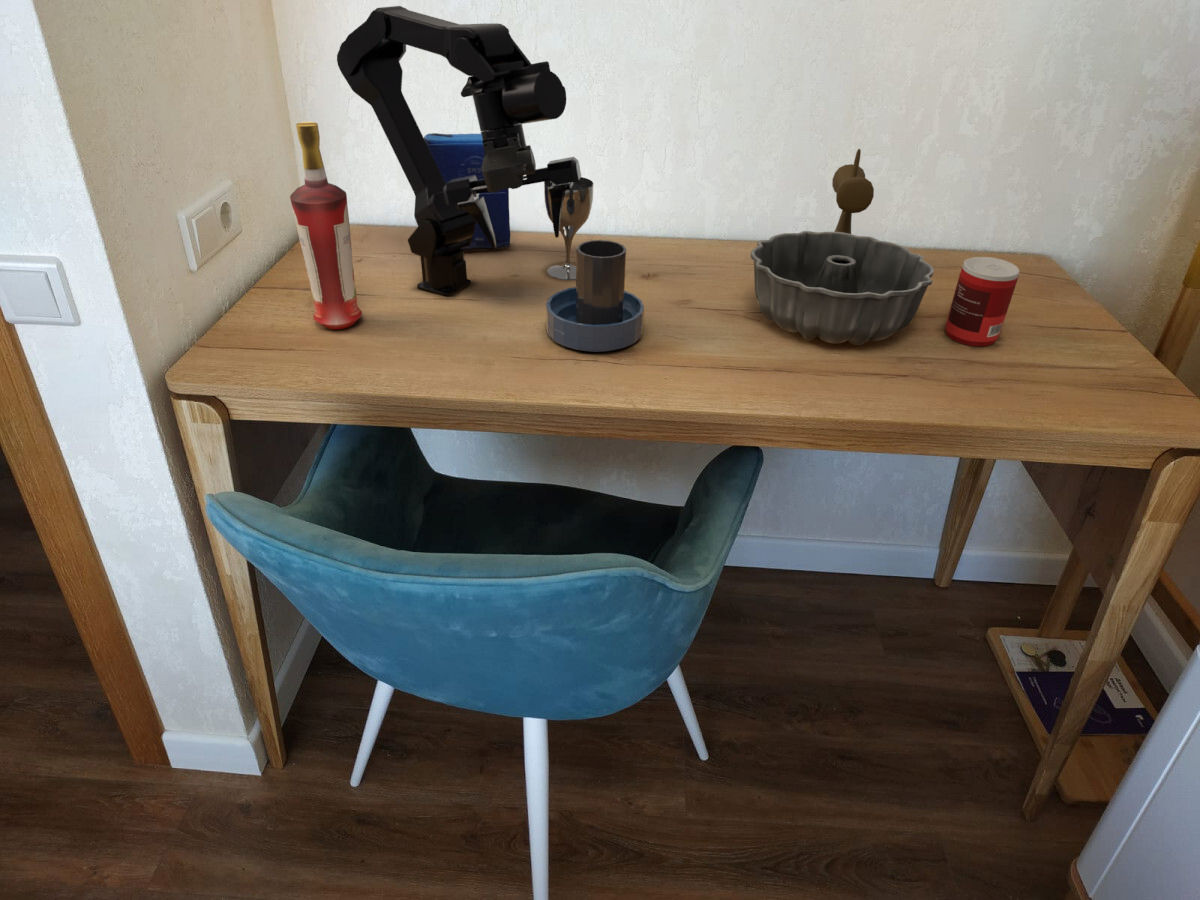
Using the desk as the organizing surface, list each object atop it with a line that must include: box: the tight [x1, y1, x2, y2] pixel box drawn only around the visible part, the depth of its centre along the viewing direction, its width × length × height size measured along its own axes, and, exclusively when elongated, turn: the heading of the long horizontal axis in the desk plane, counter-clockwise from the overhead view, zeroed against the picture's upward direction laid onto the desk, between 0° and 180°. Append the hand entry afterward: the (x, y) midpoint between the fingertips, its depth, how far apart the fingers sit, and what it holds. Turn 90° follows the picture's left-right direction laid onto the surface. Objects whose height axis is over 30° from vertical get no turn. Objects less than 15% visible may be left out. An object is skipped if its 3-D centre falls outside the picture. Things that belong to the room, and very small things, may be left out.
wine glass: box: [543, 176, 594, 281], centre depth 137 cm, size 8×8×15 cm
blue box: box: [423, 132, 511, 253], centre depth 143 cm, size 14×5×20 cm, turn 102°
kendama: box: [831, 148, 875, 234], centre depth 142 cm, size 6×10×20 cm, turn 173°
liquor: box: [289, 121, 363, 331], centre depth 115 cm, size 7×7×28 cm
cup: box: [575, 239, 627, 325], centre depth 118 cm, size 7×7×12 cm
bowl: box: [545, 286, 645, 353], centre depth 121 cm, size 14×14×4 cm
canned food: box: [945, 256, 1021, 347], centre depth 122 cm, size 8×8×11 cm
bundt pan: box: [750, 230, 935, 346], centre depth 125 cm, size 26×26×10 cm
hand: (525, 242), depth 119 cm, fingers open, 9 cm apart
